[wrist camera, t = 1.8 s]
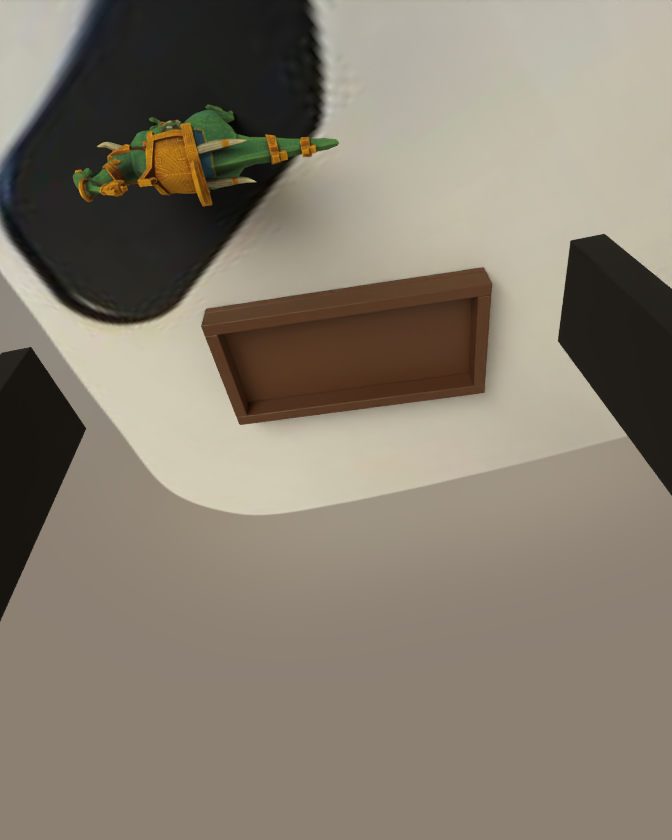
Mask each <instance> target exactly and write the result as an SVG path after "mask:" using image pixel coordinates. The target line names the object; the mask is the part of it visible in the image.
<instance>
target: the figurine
mask: <svg viewBox="0 0 672 840" xmlns="http://www.w3.org/2000/svg"><path fill="white" fill-rule="evenodd" d="M205 107H206V108H207V109H208V110H204V111H201V112H198V113H195V114H194V115H192V116H191V117H190V118H189V119H188V120H186V121H185V122H184V123H181V122H180V121H179V120H171V121H168V122H166V123H165V122H163V121H162V122H161V121H159V120H157V119H155V118H149V120H150V121H151V122H154V123H157V125H156V126H152V127H151V128H150V130H148V131H141V132H139V133H137V135H136V136H135V138H134V140H133V141H132V143H131V144H130V145H128V144H125V145H123V146H121V145H118V144H114V143H110V142H104V143H102V144H100V145H99V146H97V147H105V148H109V149H111V150H113V152H112V153H111V154H110V155H109V156H108V157H107V158H108V162H107V163H106V164H105V165H104V166H103V167H102V171H101V172H100V173H99V174H98V175H96V174H95V173H94V172H93V171H91V170H90V169H89V168H86V169H85V170H84V171H83V172H82V170H76V171H75V173H74V175H73V180H74V183H75V185H76V187H77V188H78V189H79V191H80V194H81V196H82V197H83V198H84V199H85V200H86V201H88V202H91V201H92V200H93V197H94V196H95V195H96V194H99V193H101V194H103V195H112V196H121V195H123V194H124V193H125V192H126V191H127V189H128V188H127V185H130V184H139V185H140V187H142V186H155V188H156V189H157V190H158V191H159V192H160V193H161V194H163V195H170V194H171V193H186V194H194V193H197V194H198V197H199V200H200V202H201V203H202V206H208V205H212V201H211V197H210V194H209V193H210V190H209V189H212V190H214V189H218V188H221V187H225V186H231V185H235V184H240V183H246V182H256V181H254V180H252V179H250V178H246V177H238V176H239V175H240V173H241V172H242V170H243V169H244V168H246V167H249V166H252V165H254V164H263V163H269V162H271V163H272V164H276V163H279V162H281V161H283V160H287V159H288V158H287V157H291V156H295V155H300V154H302V155H303V157H312V153H316V152H317V151H322V150H327V149H330V148H332V147H335V146H337V145H338V144H339V142H338V140H337V139H327V138H322V139H310V137H301V139H284V138H276V137H275V136H273V135H266V137H246V136H242V135H238V134H236V133H235V132H234V130H233V129H232V127H231V126H230V125H228V124H227V123H229V122H231V121H233V120H234V116H233V114H234V113H233V112H232V111H229V112H225V111H223V110H222V109H221V108H219V107H217V106H212V105H207V106H205ZM209 109H211V110H209ZM81 172H82V173H81Z"/></svg>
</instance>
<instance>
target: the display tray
mask: <svg viewBox="0 0 672 840" xmlns="http://www.w3.org/2000/svg"><path fill="white" fill-rule="evenodd" d="M491 291H492V283H491V281H490V279H489V277H488V275H487V273H486V271H485V269H484V268H477V269H470V270H463V271H457V272H450V273H443V274H437V275H430V276H423V277H417V278H410V279H403V280H397V281H390V282H383V283H377V284H370V285H363V286H357V287H350V288H343V289H337V290H330V291H323V292H317V293H310V294H303V295H297V296H290V297H283V298H277V299H270V300H263V301H257V302H250V303H243V304H237V305H230V306H223V307H217V308H210V309H206V311H205V314H204V318H203V321H202V325H201V327H202V330H203V332H204V335H205V336H206V340H207V343H208V345H209V348H210V350H211V353H212V355H213V358H214V361H215V363H216V366H217V368H218V371H219V373H220V376H221V378H222V381H223V384H224V386H225V389H226V391H227V394H228V396H229V399H230V402H231V404H232V407H233V409H234V412H235V414H236V417H237V419H238V422H239V424H240V425H243V424H251V423H258V422H266V421H274V420H281V419H289V418H296V417H304V416H312V415H319V414H327V413H335V412H342V411H350V410H357V409H365V408H373V407H380V406H388V405H395V404H403V403H411V402H418V401H426V400H434V399H441V398H449V397H456V396H464V395H472V394H479V393H484V391H485V376H486V361H487V347H488V332H489V318H490V303H491Z"/></svg>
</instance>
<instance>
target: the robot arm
mask: <svg viewBox="0 0 672 840" xmlns="http://www.w3.org/2000/svg"><path fill="white" fill-rule="evenodd" d="M558 342H559V343H560V345H561V346H562V347H563V349H564V350H565V351H566V353H567V354H568V355H569V357H570V358H571V359H572V361H573V362H574V364H575V365H576V366H577V368H578V369H579V370H580V372H581V373H582V374H583V376H584V377H585V378H586V380H587V381H588V383H589V384H590V385H591V387H592V388H593V389H594V391H595V392H596V393H597V395H598V396H599V397H600V399H601V400H602V402H603V403H604V404H605V406H606V407H607V408H608V410H609V411H610V412H611V414H612V415H613V416H614V418H615V419H616V421H617V422H618V423H619V425H620V426H621V427H622V429H623V430H624V431H625V433H626V434H627V435H628V437H629V438H630V439H631V441H632V442H633V444H634V445H635V446H636V448H637V449H638V450H639V452H640V453H641V454H642V456H643V457H644V458H645V460H646V461H647V463H648V464H649V465H650V467H651V468H652V469H653V471H654V472H655V473H656V475H657V476H658V478H659V479H660V480H661V482H662V483H663V484H664V486H665V487H666V488H667V490H668V491H669V493H670V494H671V495H672V289H671V288H670V287H669V286H668V285H666V284H665V283H664V282H663V281H661V280H660V279H659V278H658V277H657V276H655V275H654V274H653V273H652V272H650V271H649V270H648V269H647V268H646V267H644V266H643V265H642V264H641V263H639V262H638V261H637V260H636V259H635V258H633V257H632V256H631V255H630V254H628V253H627V252H626V251H625V250H624V249H622V248H621V247H620V246H619V245H617V244H616V243H615V242H614V241H613V240H611V239H610V238H609V237H608V236H606V235H605V234H602V235H596V236H591V237H586V238H581V239H576V240H571V242H570V250H569V258H568V266H567V273H566V281H565V289H564V297H563V305H562V313H561V321H560V328H559V336H558ZM85 430H86V428H85V426H84V425H83V423H82V422H81V420H80V419H79V417H78V416H77V414H76V413H75V411H74V410H73V408H72V407H71V405H70V404H69V402H68V401H67V399H66V398H65V396H64V395H63V394H62V392H61V391H60V389H59V388H58V386H57V385H56V384H55V382H54V380H53V379H52V377H51V376H50V374H49V373H48V371H47V370H46V368H45V367H44V365H43V364H42V363H41V361H40V360H39V358H38V357H37V355H36V354H35V352H34V351H33V349H32V348H31V347H29V348H24V349H19V350H14V351H9V352H4V353H1V354H0V621H1V618H2V616H3V614H4V612H5V609H6V607H7V605H8V603H9V600H10V598H11V596H12V594H13V591H14V589H15V587H16V584H17V582H18V580H19V578H20V576H21V573H22V571H23V569H24V567H25V564H26V562H27V560H28V558H29V556H30V553H31V551H32V549H33V546H34V544H35V542H36V540H37V538H38V535H39V533H40V531H41V529H42V526H43V524H44V522H45V520H46V517H47V515H48V513H49V511H50V509H51V506H52V504H53V502H54V500H55V497H56V495H57V493H58V491H59V488H60V486H61V484H62V482H63V479H64V477H65V475H66V473H67V470H68V468H69V466H70V464H71V462H72V459H73V457H74V455H75V452H76V450H77V448H78V446H79V444H80V441H81V439H82V437H83V435H84V432H85Z"/></svg>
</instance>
